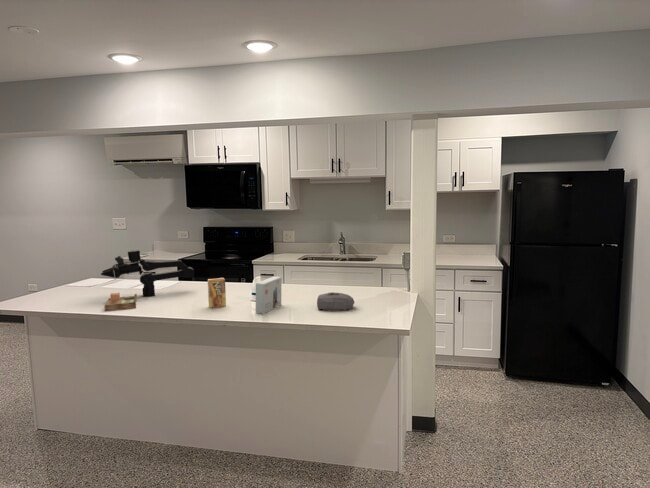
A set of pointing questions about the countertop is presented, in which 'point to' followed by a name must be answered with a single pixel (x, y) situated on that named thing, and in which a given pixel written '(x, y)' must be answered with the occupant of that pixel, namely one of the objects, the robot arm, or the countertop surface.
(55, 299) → the countertop surface
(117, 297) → the block
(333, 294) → the small grey backpack
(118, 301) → the trap board
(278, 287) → the skincare box
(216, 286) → the candy box
